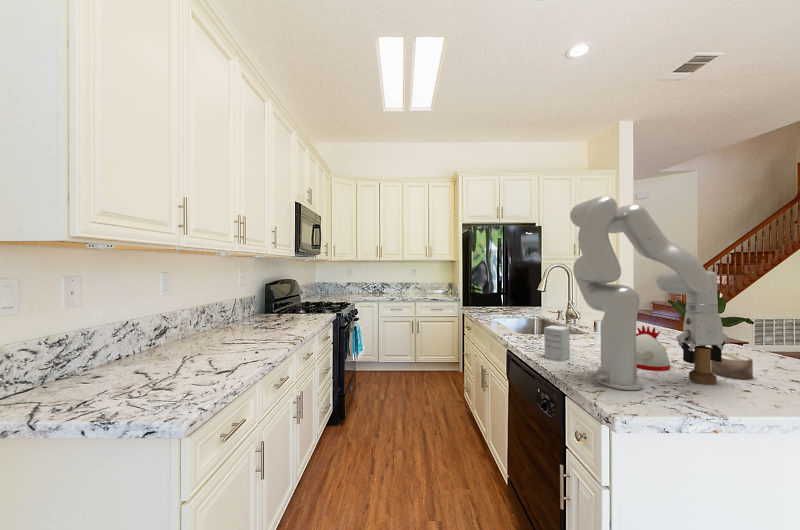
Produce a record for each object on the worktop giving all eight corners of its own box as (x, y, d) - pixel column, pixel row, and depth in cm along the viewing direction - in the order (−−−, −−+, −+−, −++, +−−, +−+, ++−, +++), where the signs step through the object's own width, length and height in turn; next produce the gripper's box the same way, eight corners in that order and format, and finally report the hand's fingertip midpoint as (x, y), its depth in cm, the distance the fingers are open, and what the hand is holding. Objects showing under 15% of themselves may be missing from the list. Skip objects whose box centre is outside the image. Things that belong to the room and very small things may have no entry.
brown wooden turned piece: (718, 386, 101) (717, 328, 101) (690, 382, 105) (689, 326, 105) (714, 380, 107) (713, 325, 107) (688, 376, 111) (687, 323, 111)
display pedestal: (735, 380, 106) (734, 361, 106) (703, 370, 116) (703, 353, 116) (761, 378, 108) (761, 360, 108) (727, 369, 118) (727, 352, 118)
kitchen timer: (666, 373, 114) (665, 330, 114) (619, 365, 124) (619, 325, 124) (673, 365, 123) (672, 325, 123) (629, 358, 133) (628, 321, 133)
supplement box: (552, 354, 139) (551, 324, 140) (570, 358, 134) (570, 327, 134) (544, 357, 135) (543, 327, 135) (562, 361, 129) (562, 329, 129)
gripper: (689, 311, 101) (690, 366, 101) (738, 309, 103) (738, 364, 103) (666, 308, 109) (667, 359, 109) (712, 306, 111) (713, 357, 111)
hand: (702, 361), depth 106 cm, fingers open, 9 cm apart
